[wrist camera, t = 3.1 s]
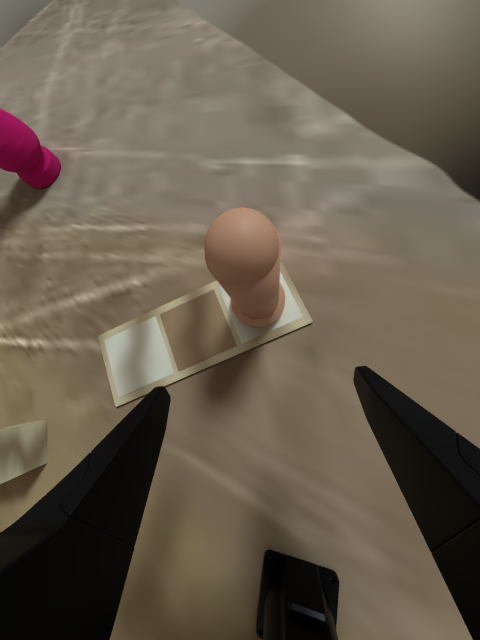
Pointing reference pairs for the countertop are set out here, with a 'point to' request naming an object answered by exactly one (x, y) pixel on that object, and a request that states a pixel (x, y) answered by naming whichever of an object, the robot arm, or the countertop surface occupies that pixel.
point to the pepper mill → (25, 153)
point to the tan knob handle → (247, 264)
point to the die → (22, 448)
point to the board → (188, 338)
